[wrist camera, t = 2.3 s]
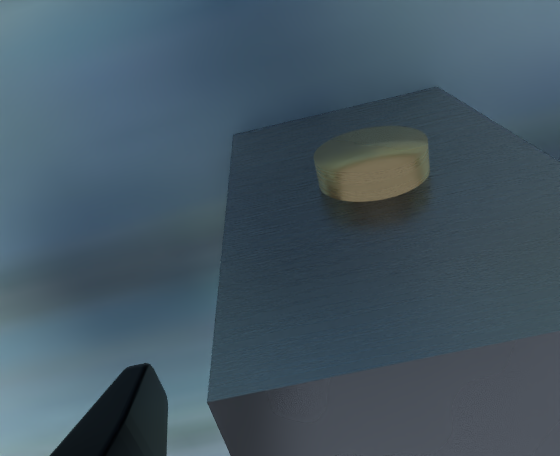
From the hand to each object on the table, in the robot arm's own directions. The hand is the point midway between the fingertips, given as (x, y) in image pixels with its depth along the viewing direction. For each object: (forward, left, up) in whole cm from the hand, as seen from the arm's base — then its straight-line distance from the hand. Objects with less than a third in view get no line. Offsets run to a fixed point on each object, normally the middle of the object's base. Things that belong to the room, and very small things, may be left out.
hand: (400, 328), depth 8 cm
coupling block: (0, 0, -5) cm, 5 cm away
